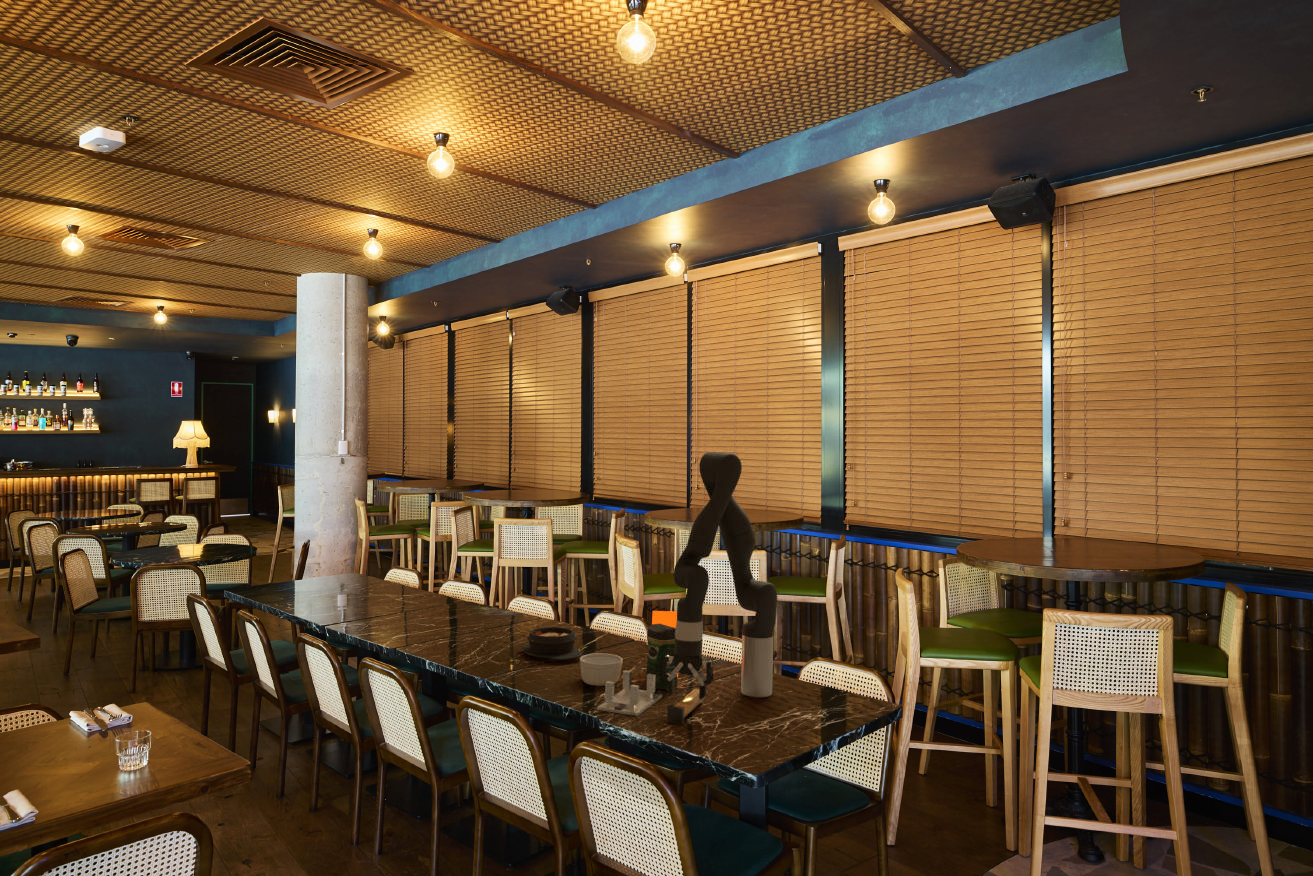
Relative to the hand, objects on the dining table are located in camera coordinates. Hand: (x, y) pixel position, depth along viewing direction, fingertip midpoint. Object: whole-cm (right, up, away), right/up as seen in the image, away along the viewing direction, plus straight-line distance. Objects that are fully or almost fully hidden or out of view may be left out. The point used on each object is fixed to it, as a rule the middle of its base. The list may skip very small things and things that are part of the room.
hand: (686, 696), depth 216 cm
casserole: (-44, -5, +56) cm, 72 cm away
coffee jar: (-7, -5, +24) cm, 25 cm away
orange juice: (-6, -5, +37) cm, 38 cm away
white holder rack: (-16, -4, +7) cm, 18 cm away
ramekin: (-26, -5, +28) cm, 38 cm away
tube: (0, -4, 0) cm, 4 cm away
